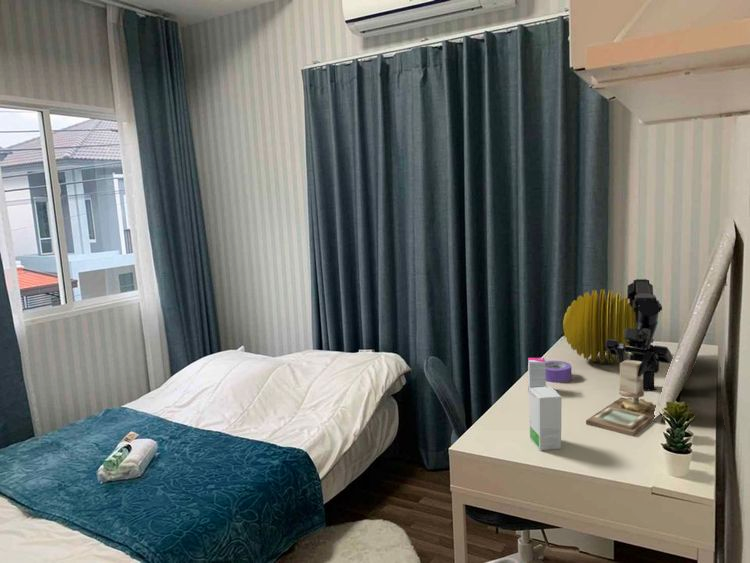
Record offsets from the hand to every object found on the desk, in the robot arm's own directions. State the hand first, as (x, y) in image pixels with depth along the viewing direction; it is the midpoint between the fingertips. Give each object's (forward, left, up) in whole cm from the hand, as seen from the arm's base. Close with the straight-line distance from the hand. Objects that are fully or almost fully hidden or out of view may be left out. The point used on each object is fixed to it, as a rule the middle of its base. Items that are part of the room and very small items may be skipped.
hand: (629, 374), depth 172 cm
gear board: (+2, +1, -13) cm, 13 cm away
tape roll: (+12, -39, -14) cm, 43 cm away
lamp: (-11, -54, -13) cm, 57 cm away
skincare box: (+30, +17, -13) cm, 37 cm away
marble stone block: (-1, -1, -7) cm, 7 cm away
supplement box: (+22, -26, -13) cm, 37 cm away
